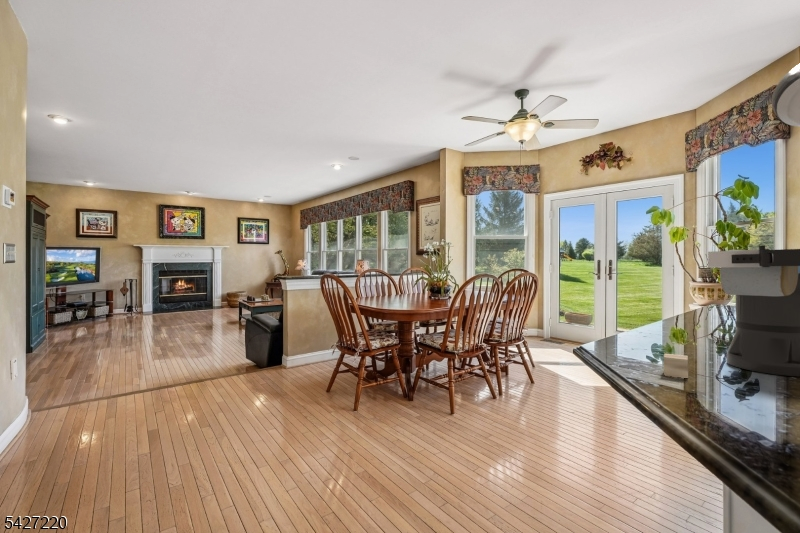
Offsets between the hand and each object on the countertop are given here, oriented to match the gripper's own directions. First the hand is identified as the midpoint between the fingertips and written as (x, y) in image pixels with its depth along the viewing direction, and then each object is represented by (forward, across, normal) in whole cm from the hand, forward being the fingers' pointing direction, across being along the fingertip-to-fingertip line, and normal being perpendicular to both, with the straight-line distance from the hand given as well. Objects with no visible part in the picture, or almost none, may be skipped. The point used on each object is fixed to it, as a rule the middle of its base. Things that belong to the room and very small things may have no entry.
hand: (718, 259), depth 66 cm
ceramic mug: (-5, +1, -6) cm, 8 cm away
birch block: (+10, +8, -24) cm, 27 cm away
